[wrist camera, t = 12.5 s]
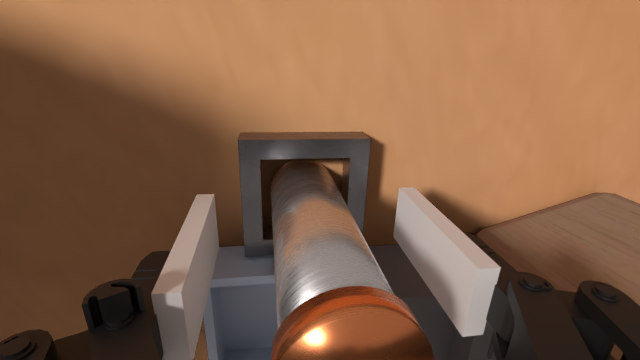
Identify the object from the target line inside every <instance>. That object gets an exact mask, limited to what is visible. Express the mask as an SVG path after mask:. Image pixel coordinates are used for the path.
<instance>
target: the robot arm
mask: <svg viewBox="0 0 640 360" xmlns="http://www.w3.org/2000/svg"><path fill="white" fill-rule="evenodd" d="M393 237H394V238H395V240H396V241H397V243H398V244H399V246H400V247H401V249H402V250H403V251H404V253H405V254H406V256H407V257H408V259H409V260H410V262H411V263H412V264H413V266H414V267H415V269H416V270H417V272H418V273H419V275H420V276H421V278H422V279H423V280H424V282H425V283H426V285H427V286H428V288H429V289H430V291H431V292H432V293H433V295H434V296H435V298H436V299H437V301H438V302H439V304H440V305H441V307H442V308H443V309H444V311H445V312H446V314H447V315H448V317H449V318H450V320H451V321H452V322H453V324H454V325H455V327H456V328H457V330H458V331H459V333H460V334H461V336H462V337H466V336H475V335H483V333H484V329H485V325H486V322H487V321H488V322H489V324H490V325H491V326H492V327H493V328H494V332H493V336H492V339H491V343H490V346H489V350H488V355H487V358H489V359H491V357H492V353H494V352H495V356H496V360H615V359H614V358H613V357H612V355H611V352H612V349H613V347H614V345H615V344H616V346H617V347H618V348H619V349H620V350H621V351H622V352H623V355H622V357H621V359H620V360H640V306H639V305H638V304H637V303H636V302H635V301H633V300H632V299H631V298H630V297H629V296H627V295H626V294H625V293H623V292H622V291H620V290H619V289H617V288H615V287H613V286H611V285H609V284H606V283H603V282H599V281H592V280H588V281H582V282H581V283H580V284H579V287H578V289H577V292H569V291H562V290H556V289H555V288H554V287H553V285H552V284H551V283H550V282H548V281H547V280H545V279H544V278H542V277H539V276H537V275H535V274H531V273H527V272H518V271H517V270H515V269H514V268H513V267H512V266H511V265H510V264H509V263H507V262H506V261H505V260H504V259H503V258H502V257H501V256H500V255H498V254H496V252H495V251H494V250H493V249H492V248H489V246H488V245H487V244H486V243H485V242H484V241H482V240H481V239H480V238H478V237H476V236H474V235H472V234H470V233H463V232H462V231H461V230H460V229H459V228H458V227H456V226H455V225H454V224H453V223H452V222H451V221H450V220H449V219H448V218H447V217H446V216H445V215H443V214H442V213H441V212H440V211H439V210H438V209H437V208H436V207H435V206H434V205H433V204H432V203H430V202H429V201H428V200H427V199H426V198H425V197H424V196H423V195H422V194H421V193H420V192H419V191H417V190H416V189H415V188H414V187H405V188H399V193H398V201H397V209H396V217H395V225H394V233H393ZM218 249H219V239H218V228H217V217H216V206H215V195H214V194H198V195H196V197H195V199H194V201H193V204H192V206H191V208H190V210H189V212H188V215H187V217H186V219H185V221H184V223H183V225H182V228H181V230H180V232H179V234H178V236H177V239H176V241H175V243H174V245H173V247H172V249H171V251H157V252H151V253H150V254H149V255H148V256H146V257H145V258H144V259H143V260H141V262H140V264H139V266H138V267H137V269H136V272H134V274H133V276H132V278H131V279H119V280H114V281H110V282H107V283H105V284H102V285H100V286H98V287H96V288H95V289H93V290H92V291H90V292H89V293H88V294H87V295H86V297H85V298H84V299H83V303H82V308H83V311H84V315H85V318H86V322H87V325H88V330H86V331H84V332H81V333H78V334H75V335H72V336H68V337H65V338H62V339H58V340H55V341H53V339H52V336H51V335H50V334H49V332H48V331H44V330H29V331H25V332H22V333H19V334H16V335H13V336H11V337H9V338H7V339H5V340H3V341H1V342H0V360H162V357H163V360H194V356H195V352H196V347H197V343H198V339H199V334H200V330H201V325H202V321H203V316H204V312H205V307H206V303H207V298H208V294H209V289H210V285H211V281H212V276H213V272H214V267H215V263H216V258H217V254H218Z"/></svg>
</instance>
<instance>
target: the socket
mask: <svg viewBox="0 0 640 360" xmlns="http://www.w3.org/2000/svg"><path fill="white" fill-rule="evenodd" d="M370 143H371V138H369V137H368V136H367V135H366V134H365V133H363V132H282V133H240V135H239V138H238V149H239V166H240V182H241V199H242V215H243V232H244V249H245V257H255V256H271V255H274V247H273V227H272V226H269V227H263V215H262V187H261V160H264V159H317V158H344V160H343V178H342V197H343V199H344V201H345V203H346V205H347V207H348V209H349V210H350V212H351V214H352V216H353V218H354V220H355V222H356V224H357V225H358V227H359V229H360V231H361V233H362V235H363V224H364V213H365V201H366V189H367V178H368V166H369V155H370Z"/></svg>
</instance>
